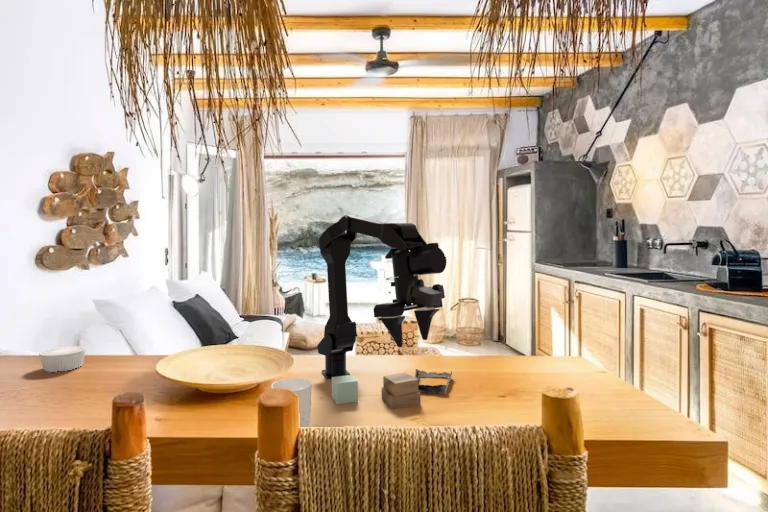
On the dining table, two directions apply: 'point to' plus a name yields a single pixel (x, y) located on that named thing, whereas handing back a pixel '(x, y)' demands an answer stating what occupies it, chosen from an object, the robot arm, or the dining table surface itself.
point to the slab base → (400, 399)
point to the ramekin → (62, 358)
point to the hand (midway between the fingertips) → (412, 343)
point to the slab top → (400, 384)
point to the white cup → (299, 395)
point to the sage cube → (344, 389)
